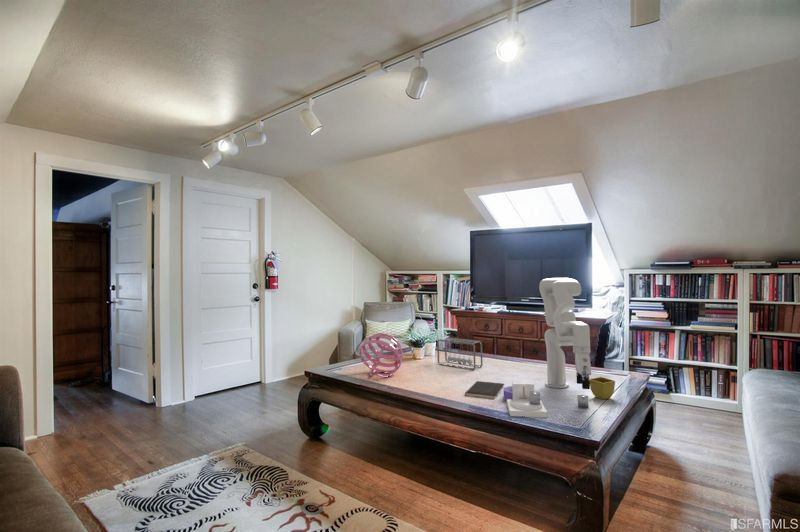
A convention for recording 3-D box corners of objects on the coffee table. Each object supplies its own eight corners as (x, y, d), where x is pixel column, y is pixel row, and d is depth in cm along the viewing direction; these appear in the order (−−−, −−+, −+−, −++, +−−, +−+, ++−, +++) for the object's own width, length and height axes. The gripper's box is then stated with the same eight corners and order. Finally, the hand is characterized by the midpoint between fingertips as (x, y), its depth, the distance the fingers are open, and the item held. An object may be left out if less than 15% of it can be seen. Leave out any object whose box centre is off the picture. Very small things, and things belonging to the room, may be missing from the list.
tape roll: (507, 403, 199) (507, 393, 199) (500, 396, 211) (500, 386, 211) (531, 402, 200) (531, 392, 200) (522, 395, 212) (522, 385, 212)
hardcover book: (504, 387, 227) (504, 383, 227) (495, 400, 206) (495, 395, 206) (476, 384, 234) (476, 380, 234) (464, 396, 213) (464, 392, 213)
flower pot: (603, 401, 198) (603, 383, 198) (588, 396, 206) (588, 378, 206) (616, 398, 202) (615, 380, 202) (601, 394, 210) (600, 376, 210)
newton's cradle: (483, 367, 272) (482, 341, 273) (475, 370, 265) (474, 343, 265) (445, 361, 292) (445, 337, 292) (437, 364, 284) (436, 339, 284)
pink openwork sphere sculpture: (381, 351, 235) (394, 320, 256) (344, 359, 248) (359, 329, 270) (403, 384, 246) (414, 351, 267) (367, 389, 259) (380, 358, 281)
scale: (506, 402, 200) (506, 382, 200) (540, 403, 197) (539, 383, 197) (510, 416, 182) (509, 393, 182) (547, 417, 179) (546, 394, 179)
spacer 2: (576, 405, 194) (576, 394, 194) (586, 405, 193) (586, 394, 193) (579, 408, 190) (578, 397, 190) (589, 408, 189) (589, 397, 189)
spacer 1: (529, 401, 190) (528, 391, 190) (539, 402, 190) (539, 391, 190) (530, 404, 186) (530, 394, 186) (541, 405, 185) (540, 394, 185)
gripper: (595, 352, 182) (597, 391, 182) (585, 346, 199) (586, 381, 199) (577, 352, 184) (579, 390, 183) (568, 346, 201) (570, 381, 200)
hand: (583, 386), depth 191 cm, fingers open, 9 cm apart
